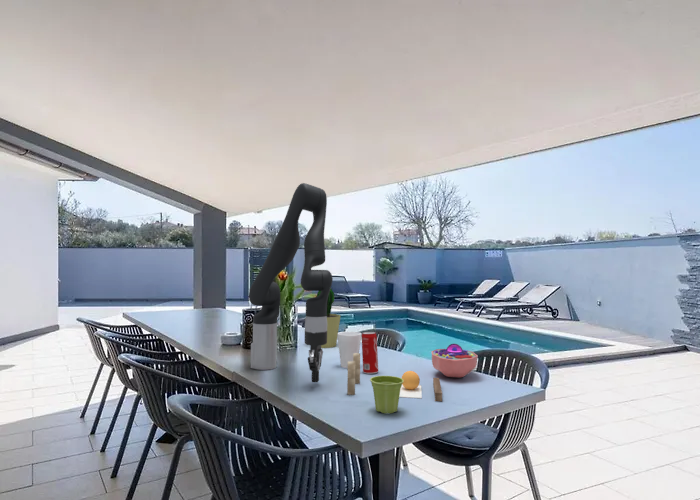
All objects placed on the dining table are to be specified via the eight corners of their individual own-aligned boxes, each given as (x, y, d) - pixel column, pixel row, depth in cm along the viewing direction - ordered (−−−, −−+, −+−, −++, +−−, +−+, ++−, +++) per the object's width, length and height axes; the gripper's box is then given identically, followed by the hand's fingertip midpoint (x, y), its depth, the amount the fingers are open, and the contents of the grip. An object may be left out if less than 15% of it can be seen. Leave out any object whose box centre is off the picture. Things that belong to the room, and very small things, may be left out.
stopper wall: (435, 401, 139) (435, 392, 139) (433, 385, 156) (433, 377, 157) (442, 401, 138) (442, 393, 138) (439, 385, 156) (439, 377, 156)
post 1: (346, 394, 144) (347, 362, 144) (347, 392, 146) (348, 361, 146) (354, 395, 144) (354, 363, 144) (355, 393, 146) (355, 361, 146)
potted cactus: (304, 348, 218) (305, 284, 218) (312, 342, 233) (313, 283, 233) (336, 349, 215) (337, 285, 216) (342, 343, 230) (343, 283, 231)
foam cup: (343, 370, 176) (344, 336, 176) (333, 365, 184) (333, 332, 184) (365, 367, 180) (365, 334, 180) (354, 362, 188) (354, 331, 188)
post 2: (352, 383, 157) (352, 354, 157) (353, 381, 159) (353, 352, 159) (359, 384, 156) (359, 354, 157) (360, 382, 159) (360, 353, 159)
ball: (418, 394, 148) (400, 390, 148) (417, 388, 154) (399, 384, 154) (422, 375, 148) (403, 372, 148) (420, 370, 154) (402, 367, 154)
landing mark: (376, 395, 143) (376, 395, 143) (379, 383, 157) (379, 383, 157) (421, 398, 141) (421, 397, 141) (421, 386, 155) (421, 385, 155)
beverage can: (377, 375, 169) (377, 334, 169) (359, 373, 170) (360, 333, 171) (379, 371, 175) (379, 331, 175) (362, 370, 176) (363, 330, 176)
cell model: (425, 380, 163) (425, 348, 163) (436, 367, 182) (436, 339, 182) (474, 385, 157) (474, 352, 157) (480, 372, 175) (480, 342, 176)
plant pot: (367, 405, 134) (368, 375, 134) (399, 404, 135) (400, 375, 135) (372, 416, 125) (372, 384, 125) (406, 415, 126) (406, 383, 126)
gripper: (309, 326, 161) (308, 376, 160) (300, 332, 148) (299, 386, 147) (330, 327, 160) (330, 377, 159) (323, 333, 146) (322, 387, 146)
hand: (315, 381), depth 153 cm, fingers closed
